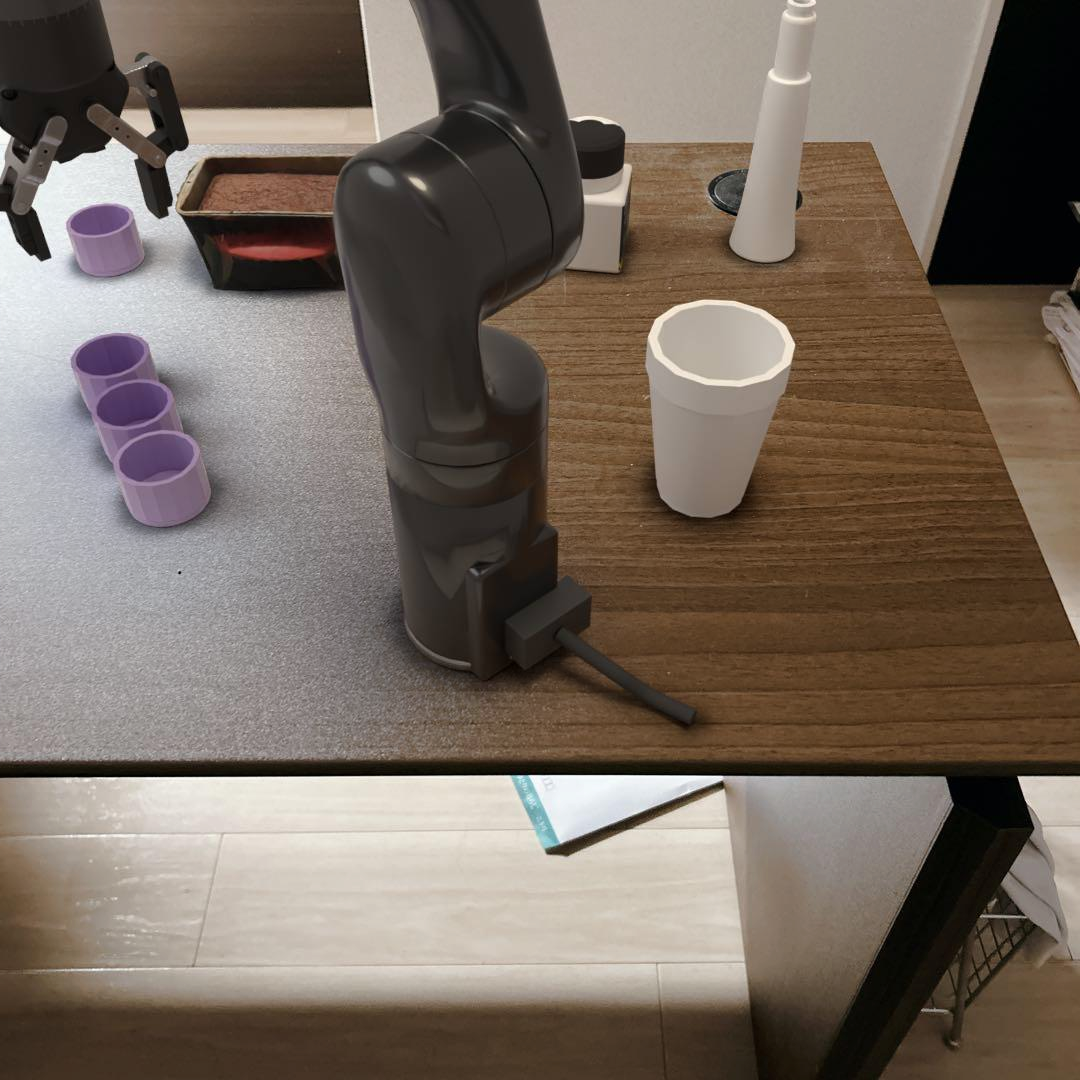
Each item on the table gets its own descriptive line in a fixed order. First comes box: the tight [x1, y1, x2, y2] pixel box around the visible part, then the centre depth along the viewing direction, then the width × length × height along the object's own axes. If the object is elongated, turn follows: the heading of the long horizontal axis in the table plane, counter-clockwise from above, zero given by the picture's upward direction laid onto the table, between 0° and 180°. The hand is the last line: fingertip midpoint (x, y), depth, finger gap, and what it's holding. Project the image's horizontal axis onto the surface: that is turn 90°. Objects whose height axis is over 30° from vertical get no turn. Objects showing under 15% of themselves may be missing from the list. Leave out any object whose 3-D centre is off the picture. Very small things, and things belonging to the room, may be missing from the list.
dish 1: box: [70, 332, 160, 413], centre depth 88 cm, size 6×6×4 cm
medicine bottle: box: [564, 115, 633, 274], centre depth 100 cm, size 7×7×12 cm
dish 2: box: [90, 379, 185, 465], centre depth 84 cm, size 6×6×4 cm
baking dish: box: [174, 153, 357, 291], centre depth 101 cm, size 14×18×10 cm
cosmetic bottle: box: [728, 0, 818, 264], centre depth 97 cm, size 6×6×22 cm
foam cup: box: [644, 299, 796, 519], centre depth 78 cm, size 10×9×13 cm
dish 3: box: [112, 430, 212, 528], centre depth 80 cm, size 6×6×4 cm
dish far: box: [65, 202, 146, 278], centre depth 102 cm, size 6×6×4 cm
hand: (101, 233), depth 77 cm, fingers open, 8 cm apart
